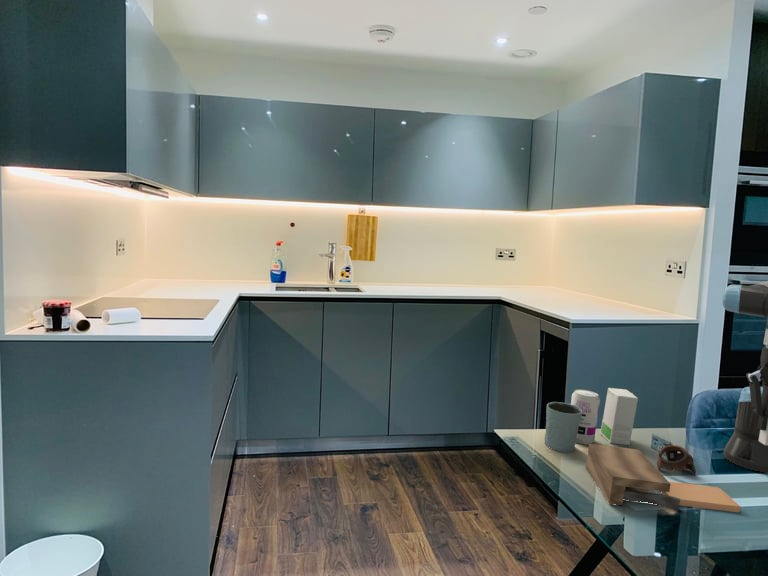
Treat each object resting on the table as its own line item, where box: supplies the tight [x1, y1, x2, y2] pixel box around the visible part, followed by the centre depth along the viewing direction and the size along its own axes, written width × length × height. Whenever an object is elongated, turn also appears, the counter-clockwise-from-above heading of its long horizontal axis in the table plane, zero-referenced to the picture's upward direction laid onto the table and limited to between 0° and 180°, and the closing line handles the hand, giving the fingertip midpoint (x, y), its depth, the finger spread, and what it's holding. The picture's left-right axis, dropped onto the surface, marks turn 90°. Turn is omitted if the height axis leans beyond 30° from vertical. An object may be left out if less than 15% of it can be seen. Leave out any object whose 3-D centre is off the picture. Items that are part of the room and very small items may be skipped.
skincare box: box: [600, 387, 639, 446], centre depth 171 cm, size 8×7×16 cm
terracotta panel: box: [660, 480, 742, 514], centre depth 136 cm, size 16×10×2 cm, turn 85°
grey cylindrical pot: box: [544, 401, 582, 453], centre depth 161 cm, size 10×10×12 cm
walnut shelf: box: [585, 443, 681, 511], centre depth 137 cm, size 17×20×7 cm
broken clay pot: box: [656, 443, 697, 477], centre depth 152 cm, size 12×10×8 cm
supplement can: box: [570, 389, 601, 445], centre depth 168 cm, size 8×8×15 cm
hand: (764, 443), depth 133 cm, fingers closed
